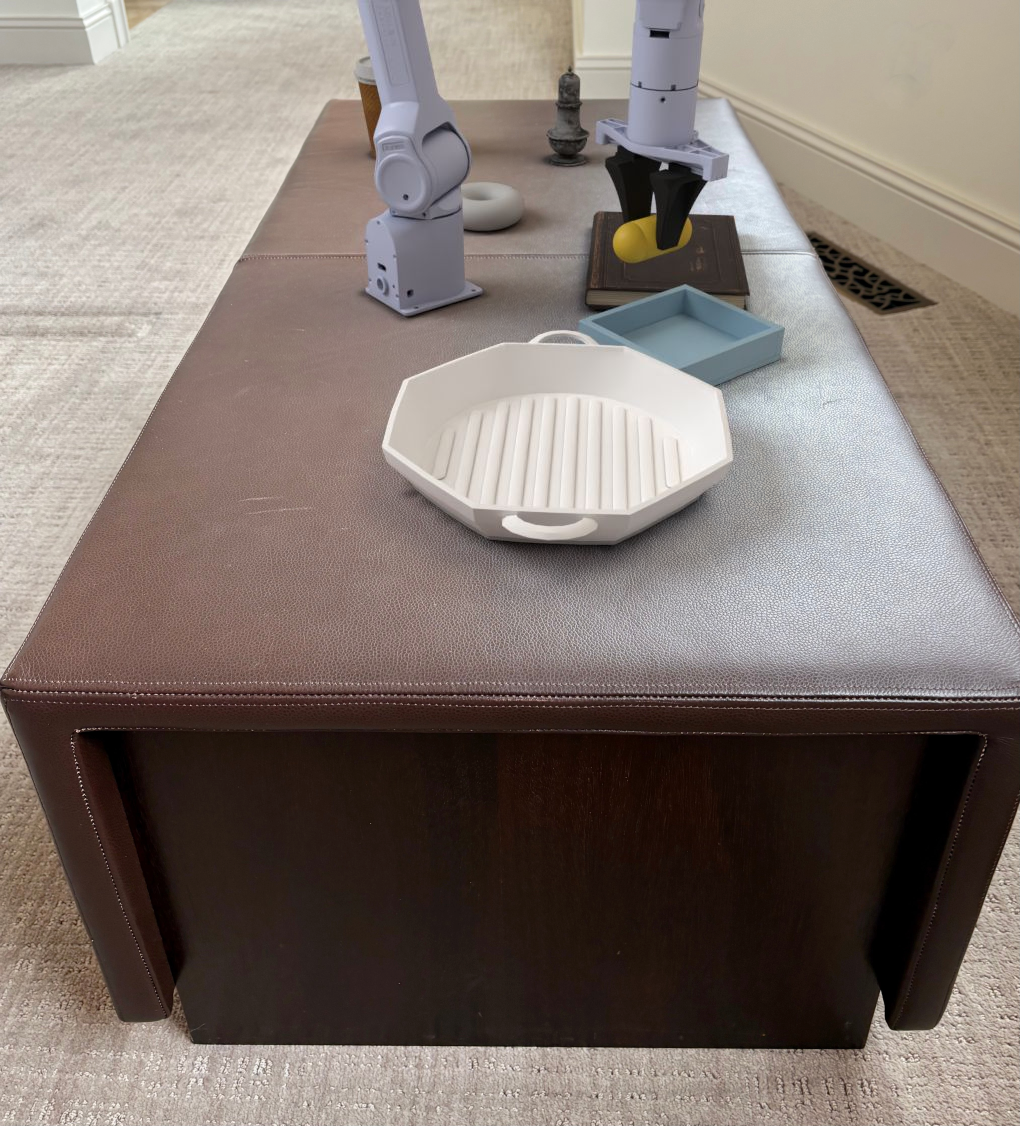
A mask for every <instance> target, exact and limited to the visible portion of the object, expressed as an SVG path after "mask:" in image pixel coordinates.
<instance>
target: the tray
mask: <svg viewBox="0 0 1020 1126" xmlns="http://www.w3.org/2000/svg"><path fill="white" fill-rule="evenodd" d="M785 330H786V328H785V327H784V326H782V325H780V324H777V323H775V322H773V321H771V320H768V319H766V318H764V317H762V316H758V315H756V314H754V313H752V312H750V311H748V310H747V311H745V310H743V309H741V308H738V307H736V306H734V305H732V304H729V303H727V302H725V301H722V300H720V299H718V298H716V297H713V296H711V295H709V294H707V293H704V292H702V291H700V290H697V289H695V288H693V287H691V286H688V285H686V284H685V285H682V286H679V287H676V288H673V289H670V290H667V291H664V292H661V293H658V294H655V295H652V296H649V297H646V298H644V299H641V300H638V301H635V302H632V303H629V304H626V305H623V306H620V307H617V308H614V309H611V310H605V311H602V312H599V313H596V314H593V315H591V316H588V317H587V316H586V317H584V318H582V319H579V320H578V332H580V333H582V334H585V335H588V336H590V337H591V338H592V339H593V340H595V341H596V342H597V343H598V344H599V345H611V346H627V347H629V348H631V349H634V350H636V351H638V352H640V353H643V354H645V355H647V356H650V357H652V358H654V359H656V360H658V361H661V362H663V363H665V364H667V365H669V366H671V367H673V368H676V369H678V370H680V371H682V372H684V373H686V374H689V375H691V376H693V377H695V378H697V379H699V380H701V381H703V382H705V383H707V384H709V385H711V386H713V387H715V386H718V385H720V384H723V383H725V382H727V381H730V380H733V379H734V378H735V379H736V378H737V377H739V376H742V375H745V374H747V373H750V372H752V371H755V370H756V369H759V368H761V367H764V366H766V365H769V364H771V363H774V362H777V361H779V360H780V359H781V353H782V350H783V349H782V348H783V343H784V336H785ZM577 344H585V343H584V342H583V341H580V340H578V339H577Z"/></svg>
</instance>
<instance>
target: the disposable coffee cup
mask: <svg viewBox="0 0 1020 1126" xmlns="http://www.w3.org/2000/svg"><path fill="white" fill-rule="evenodd" d="M353 75H354V76H355V79H356V81H357V83H358V84H357V85H358V88H359V93H360V98H361V104H362V109H363V113H364V119H365V125H366V130H367V133H368V139H369V144H370V149H371V154H372V156H373V157H374V158H376V149H375V144H374V140H373V137H374V133H375V130H376V126H377V123H378V120H379V117H380V114H381V110H382V105H381V101H380V97H379V93H378V89H377V84H376V80H375V76H374V72H373V68H372V63H371V59H370V55H366V56H362V57H359V58H358V59H356V61H355V69H354V70H353Z"/></svg>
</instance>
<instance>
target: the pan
mask: <svg viewBox="0 0 1020 1126" xmlns="http://www.w3.org/2000/svg"><path fill="white" fill-rule="evenodd" d="M553 338H571V339H575V340H577V341H578V340H580V341H583V342H584V343H585V344H578V343H557V342H553V343H551V342H545V341H548V340H551V339H553ZM724 400H725V399H724V397H723V392H722V390H721V389H719V388H717V387H715V386H711V385H709V384H707V383H705V382H703V381H701V380H699V379H697V378H695V377H693V376H691V375H689V374H686V373H684V372H682V371H680V370H678V369H676V368H673V367H671V366H669V365H667V364H665V363H663V362H661V361H658V360H656V359H654V358H652V357H650V356H647V355H645V354H643V353H640V352H638V351H636V350H634V349H631V348H629V347H627V346H611V345H599V344H598V343H597V342H596V341H595V340H593V339H592V338H591V337H590V336H588V335H585V334H582V333H580V332H579V331H574V330H567V329H561V330H560V329H559V330H550V331H546V332H543V333H539V334H538V335H536V336H535V337H534V338H532V339H531V340H530V341H528V342H501V343H498V344H494V345H492V346H489V347H486V348H483V349H480V350H477V351H475V352H471V353H469V354H467V355H464V356H461V357H458V358H456V359H453V360H450V361H447V362H445V363H443V364H440V365H438V366H435V367H433V368H430V369H427V370H425V371H422V372H420V373H418V374H415V375H413V376H410V377H408V378H405V379H403V380H402V383H401V386H400V388H399V391H398V393H397V396H396V398H395V400H394V403H393V406H392V409H391V411H390V414H389V418H388V422H387V424H386V428H385V433H384V437H383V440H382V444H381V449H382V453H383V456H384V458H385V461H386V463H387V464H388V465H389V466H391V467H392V468H393V469H394V470H395V471H396V472H398V473H399V474H400V475H401V476H402V477H403V478H405V479H406V480H407V481H408V482H409V483H411V484H412V488H413V489H414V490H416V491H417V492H418V493H419V494H421V495H422V496H423V497H424V498H426V499H427V500H428V501H429V502H430V503H432V504H433V505H435V506H436V507H437V508H439V509H440V510H442V511H443V512H444V513H445V514H447V515H448V516H450V517H452V518H453V519H455V520H456V521H457V522H458V523H460V524H462V525H464V526H465V527H467V528H468V529H470V530H472V531H474V532H475V533H477V534H478V535H480V536H482V537H484V538H485V539H487V540H492V541H493V540H494V541H505V542H516V543H533V544H534V543H535V544H554V545H595V546H596V545H607V546H608V545H611V546H612V545H613V546H615V545H617V544H619V543H621V542H623V541H625V540H627V539H630V538H631V537H634V536H636V535H638V534H640V533H642V532H644V531H646V530H648V529H649V528H651V527H653V526H655V525H657V524H658V523H660V522H662V521H664V520H666V519H668V518H670V517H672V516H673V515H675V514H677V513H679V512H680V511H682V510H684V509H685V508H687V507H689V506H690V505H691V504H693V503H694V502H696V501H697V500H699V499H700V497H701V495H703V494H704V493H705V492H706V491H708V490H709V489H711V488H712V487H713V486H715V485H716V484H717V483H718V482H720V481H721V480H722V479H724V478H725V477H727V476H728V475H729V472H730V469H731V467H732V465H733V463H734V452H733V443H732V437H731V431H730V427H729V420H728V415H727V408H726V403H725V401H724Z"/></svg>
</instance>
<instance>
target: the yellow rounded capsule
mask: <svg viewBox="0 0 1020 1126" xmlns="http://www.w3.org/2000/svg"><path fill="white" fill-rule="evenodd" d="M691 234H692V225H691V222H690V220H689V218H687V220H686V223H685V226H684V228H683V231H682V234H681V237H680V240H679V243H678V246H676V247H673V248H670V249H667V250H664V251H662V250H659V249H657V243H656V215H652V216H649V217H645V218H642V219H638V220H635V221H632V222H628V223H626V224H624V225H622V226H621V227H620V228H619V229H618V230H617V231H616V233H615V235H614V238H613V248H614V251H615V253H616V255H617V256H618V257H619V258H620V259H621V260H623V261H625V262H628V263H637V262H640V261H644V260H647V259H650V258H653V257H656V256H659V255H662V254H665V253H669V252H672V251H675V250H678V249H680V248H682V247H683V246H685V245H686V244H687V242H688V241H689V239H690V237H691Z"/></svg>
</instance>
